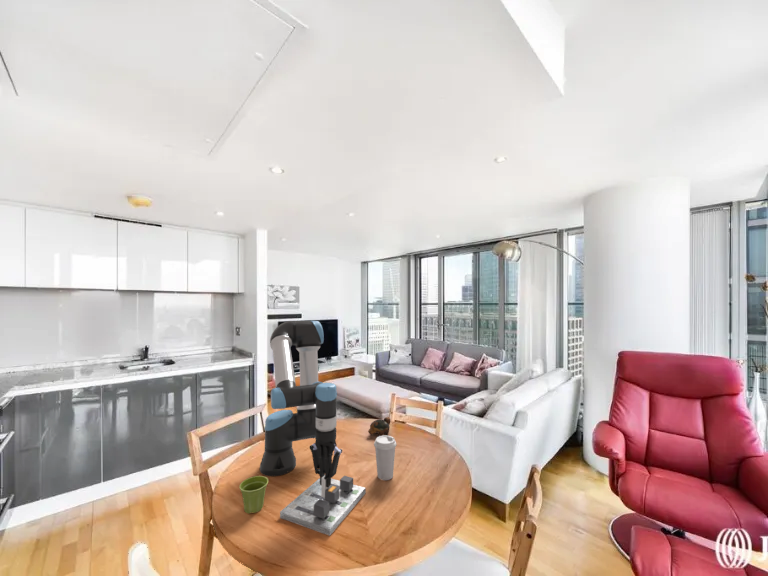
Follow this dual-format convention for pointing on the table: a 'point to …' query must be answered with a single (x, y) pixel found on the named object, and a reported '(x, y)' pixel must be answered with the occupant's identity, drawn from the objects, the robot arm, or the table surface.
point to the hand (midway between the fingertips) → (325, 494)
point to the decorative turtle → (380, 426)
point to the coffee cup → (385, 456)
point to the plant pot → (253, 493)
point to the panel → (304, 507)
